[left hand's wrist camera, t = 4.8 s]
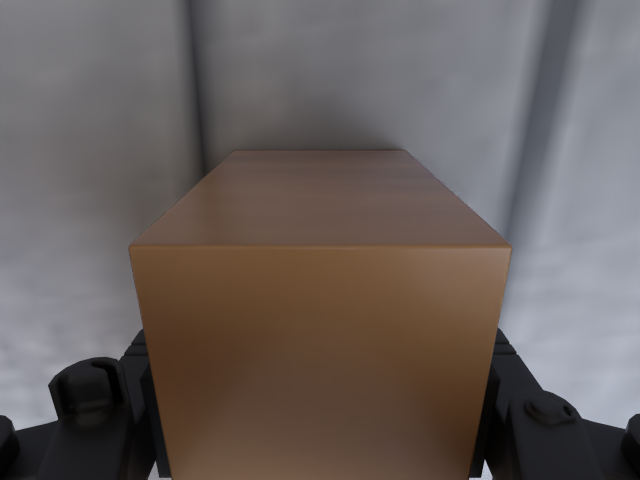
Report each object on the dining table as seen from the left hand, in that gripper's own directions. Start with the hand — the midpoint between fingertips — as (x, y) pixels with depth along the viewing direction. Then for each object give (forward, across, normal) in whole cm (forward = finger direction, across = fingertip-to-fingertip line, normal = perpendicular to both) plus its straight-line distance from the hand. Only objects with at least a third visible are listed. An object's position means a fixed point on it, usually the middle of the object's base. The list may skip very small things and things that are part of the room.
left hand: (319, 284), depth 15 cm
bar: (+1, 0, -23) cm, 23 cm away
